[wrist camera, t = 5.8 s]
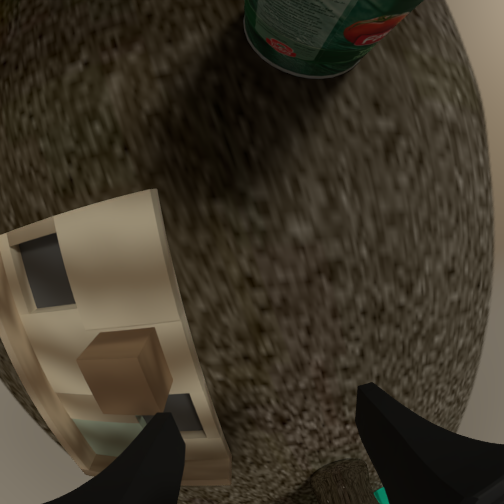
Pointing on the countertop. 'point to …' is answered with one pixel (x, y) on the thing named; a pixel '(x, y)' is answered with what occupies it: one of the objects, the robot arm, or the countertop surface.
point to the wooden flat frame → (103, 328)
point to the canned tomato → (319, 32)
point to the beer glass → (343, 483)
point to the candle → (381, 496)
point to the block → (127, 372)
